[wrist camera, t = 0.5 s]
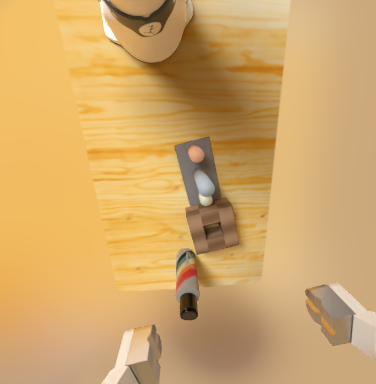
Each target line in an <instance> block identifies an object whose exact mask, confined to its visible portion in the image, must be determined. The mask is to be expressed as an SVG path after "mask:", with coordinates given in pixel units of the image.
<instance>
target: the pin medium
mask: <svg viewBox="0 0 376 384" xmlns="http://www.w3.org/2000/svg"><path fill="white" fill-rule="evenodd" d="M188 154H189V157H190V159H191V160H192V161H193V162H195V163H199V162H201V161H202V160H203V158H204V152H203V150H202V149H201V148H199V147H198V146H197V145H191V146H190V147H189V148H188Z"/></svg>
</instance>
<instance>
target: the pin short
mask: <svg viewBox="0 0 376 384" xmlns="http://www.w3.org/2000/svg"><path fill="white" fill-rule="evenodd" d="M198 196H199V199H200V203H201V204H202V205H203V206H209V205H210V204H211V203H212V201H213V199H212V196H210V197H203V196H202V195H201V194H200V193H199V192H198Z"/></svg>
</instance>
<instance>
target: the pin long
mask: <svg viewBox="0 0 376 384" xmlns="http://www.w3.org/2000/svg"><path fill="white" fill-rule="evenodd" d="M193 176H194V179H195V182H196V184H197V187H198V190H199V193H200V194H201V195H202V196H203V197H210V196H211V195H213V193H214V191H215V186H214V185H213V183H212V182H211V180H210V178H209V177H208V175H207V174H206V172H205V171H204V169H203V168H200V167H198V168H196V169H195V170H194V171H193Z"/></svg>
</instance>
